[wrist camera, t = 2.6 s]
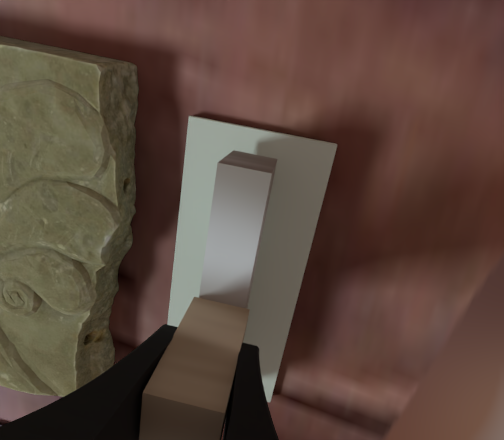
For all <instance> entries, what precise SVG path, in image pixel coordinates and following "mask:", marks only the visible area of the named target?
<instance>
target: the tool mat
mask: <svg viewBox="0 0 504 440" xmlns="http://www.w3.org/2000/svg"><path fill="white" fill-rule="evenodd" d="M336 149H337V144H336V143H331V142H325V141H320V140H315V139H310V138H305V137H300V136H295V135H289V134H284V133H279V132H274V131H269V130H264V129H258V128H253V127H248V126H243V125H238V124H233V123H227V122H222V121H217V120H212V119H207V118H202V117H197V116H189V120H188V130H187V140H186V149H185V159H184V169H183V178H182V188H181V198H180V207H179V217H178V227H177V236H176V246H175V256H174V265H173V275H172V285H171V294H170V304H169V314H168V324H167V325H171V326H175V327H178V326H179V324H180V322H181V320H182V319H183V317H184V315H185V313H186V311H187V309H188V307H189V305H190V304H191V302H192V300H193V298H194V297H198V298H199V293H200V286H201V278H202V271H203V264H204V257H205V250H206V242H207V235H208V228H209V221H210V214H211V206H212V199H213V192H214V185H215V178H216V170H217V163H218V162H219V161H220V160H222V159H223V158H224V157H226V156H227V155H228V154H229V153H231V152H232V151H233V150H235V151H240V152H245V153H250V154H255V155H260V156H265V157H270V158H276V159H277V164H276V169H275V174H274V179H273V184H272V189H271V194H270V199H269V204H268V209H267V214H266V219H265V224H264V228H263V233H262V238H261V243H260V248H259V253H258V258H257V263H256V268H255V273H254V278H253V283H252V288H251V293H250V298H249V303H248V308H247V309H250V311H249V316H248V321H247V326H246V331H245V336H244V340H243V343H247V344H251V345H255V346H258V348H259V360H260V369H261V376H262V382H263V387H264V391H265V396H266V400H267V402H271V398H272V394H273V390H274V386H275V383H276V379H277V375H278V371H279V367H280V363H281V360H282V356H283V352H284V348H285V344H286V340H287V337H288V333H289V329H290V325H291V321H292V317H293V314H294V310H295V306H296V302H297V298H298V294H299V291H300V287H301V283H302V279H303V275H304V271H305V268H306V264H307V260H308V256H309V252H310V249H311V245H312V241H313V237H314V233H315V229H316V226H317V222H318V218H319V214H320V210H321V206H322V203H323V199H324V195H325V191H326V187H327V183H328V180H329V176H330V172H331V168H332V164H333V160H334V157H335V153H336Z"/></svg>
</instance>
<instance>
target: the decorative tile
mask: <svg viewBox="0 0 504 440" xmlns="http://www.w3.org/2000/svg"><path fill="white" fill-rule="evenodd" d="M138 91H139V88H138V78H137V66H136V65H134V64H133V63H130V62H125V61H121V60H116V59H111V58H107V57H101V56H97V55H92V54H88V53H83V52H78V51H73V50H68V49H63V48H58V47H53V46H48V45H43V44H38V43H33V42H28V41H23V40H18V39H13V38H8V37H4V36H0V385H1V386H4V387H7V388H10V389H13V390H17V391H21V392H26V393H30V394H35V395H54V396H62V397H64V396H66V395H68V394H70V393H71V392H73V391H75V390H77V389H78V388H80V387H82V386H83V385H85V384H87V383H88V382H90V381H92V380H93V379H95V378H96V377H98V376H99V375H101V374H102V373H104V372H105V371H106V370H108V369H109V368H111V367H112V366H113V364H114V361H115V348H114V347H113V341H112V337H111V333H110V331H109V323H110V321H109V316H110V313H111V305H112V304H113V298H114V297H115V295H116V293H117V292H118V291H119V285H118V280H117V279H118V269H119V266H120V263H121V261H122V259H123V258H124V256H125V254H126V253H127V252H128V251H129V249H130V248H131V246H132V242H133V235H132V229H131V226H130V224H131V221H132V218H133V215H134V214H135V213H136V209H135V206H134V203H135V199H136V194H135V193H136V185H135V181H136V178H135V170H134V158H135V151H134V149H135V141H136V130H135V127H134V123H135V118H136V113H137V107H138V100H137V97H138Z"/></svg>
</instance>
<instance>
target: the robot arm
mask: <svg viewBox="0 0 504 440" xmlns="http://www.w3.org/2000/svg"><path fill="white" fill-rule="evenodd" d="M177 328H178V327H175V326H171V325H167V324H165V325H163V326H161V327H160V328H159V329H158V330H157V331H156V332H155V333H154V334H152V335H151V336H150V337H149V338H148V339H147V340H146V341H144V342H143V343H142V344H141V345H140V346H138V347H137V348H136V349H135V350H133V351H132V352H131V353H130V354H128V355H127V356H126V357H124V358H123V359H122V360H120V361H119V362H118V363H116V364H115V365H113V366H112V367H111V368H109V369H108V370H106V371H105V372H104V373H102V374H101V375H99V376H98V377H96V378H95V379H93V380H92V381H90V382H88V383H87V384H85V385H83V386H82V387H80V388H78V389H77V390H75V391H73V392H71V393H70V394H68V395H66V396H64V397H62V398H61V399H59V400H57V401H55V402H53V403H51V404H49V405H47V406H45V407H43V408H41V409H39V410H37V411H34V412H32V413H30V414H28V415H26V416H24V417H21V418H19V419H17V420H14V421H12V422H10V423H7V424H5V425H0V440H139V433H140V420H141V408H142V395H143V391H144V389H145V387H146V386H147V384H148V382H149V380H150V378H151V376H152V374H153V373H154V371H155V369H156V367H157V365H158V363H159V361H160V359H161V358H162V356H163V354H164V352H165V350H166V348H167V346H168V345H169V344H170V342H171V341H172V339H173V337H174V336H173V335H174V333H175V332H176V330H177ZM223 440H279V439H278V436H277V433H276V431H275V428H274V425H273V421H272V418H271V415H270V411H269V408H268V404H267V400H266V396H265V391H264V387H263V382H262V376H261V369H260V360H259V348H258V346H255V345H251V344H247V343H243V342H242V345H241V349H240V352H239V354H238V359H237V366H236V371H235V376H234V381H233V386H232V390H231V395H230V400H229V405H228V410H227V415H226V421H225V428H224V436H223Z"/></svg>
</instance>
